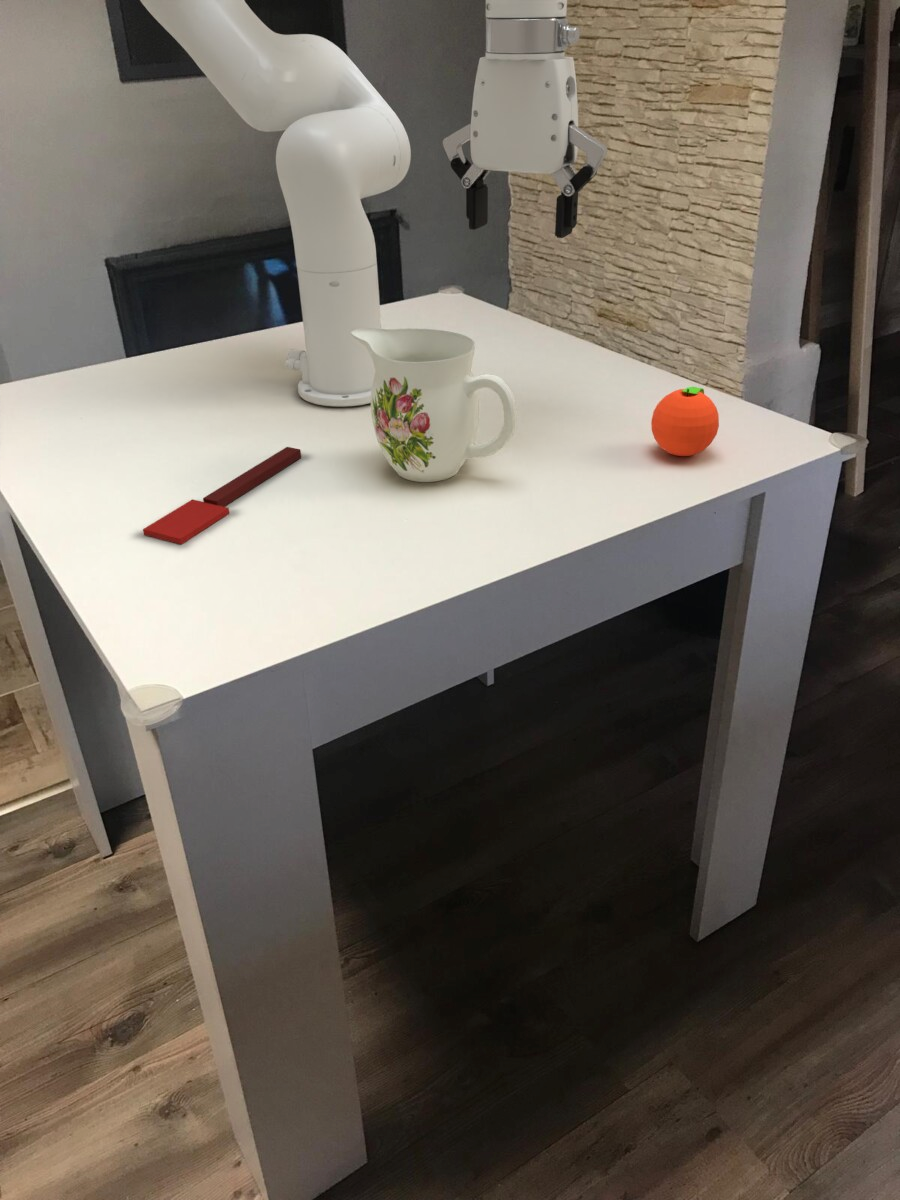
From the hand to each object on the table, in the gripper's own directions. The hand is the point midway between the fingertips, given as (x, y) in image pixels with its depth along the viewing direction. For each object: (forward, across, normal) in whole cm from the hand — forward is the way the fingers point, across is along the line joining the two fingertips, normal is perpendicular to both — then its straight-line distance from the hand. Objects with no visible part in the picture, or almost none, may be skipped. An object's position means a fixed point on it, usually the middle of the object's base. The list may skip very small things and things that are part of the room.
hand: (520, 231), depth 100 cm
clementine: (+21, -20, +1) cm, 29 cm away
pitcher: (+21, +2, +15) cm, 26 cm away
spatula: (+22, +18, +29) cm, 41 cm away
